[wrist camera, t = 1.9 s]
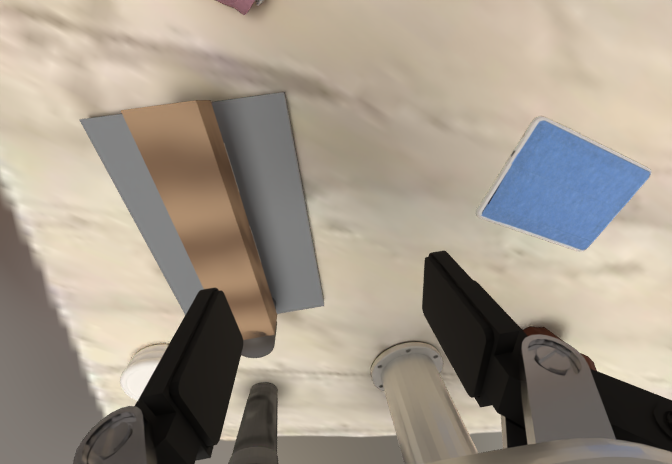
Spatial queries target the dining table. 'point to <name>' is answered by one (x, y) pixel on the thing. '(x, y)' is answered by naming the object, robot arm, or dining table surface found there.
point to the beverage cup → (258, 428)
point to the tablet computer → (561, 186)
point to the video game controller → (241, 4)
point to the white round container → (141, 370)
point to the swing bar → (207, 210)
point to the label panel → (254, 188)
